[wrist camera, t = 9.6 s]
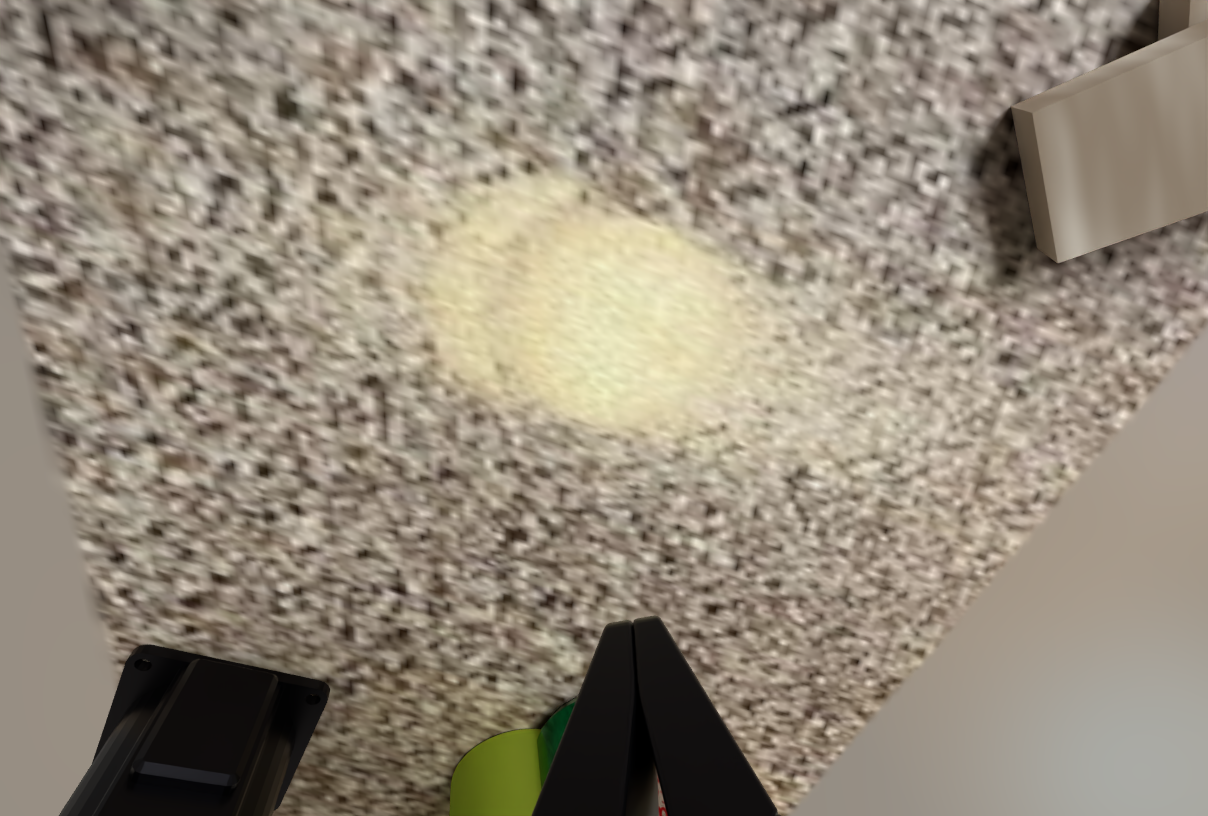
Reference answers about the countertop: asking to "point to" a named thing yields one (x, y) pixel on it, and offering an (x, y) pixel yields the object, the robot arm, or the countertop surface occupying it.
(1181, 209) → the domino
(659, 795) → the soda can
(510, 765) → the soap dispenser
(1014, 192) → the countertop surface
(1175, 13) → the domino
